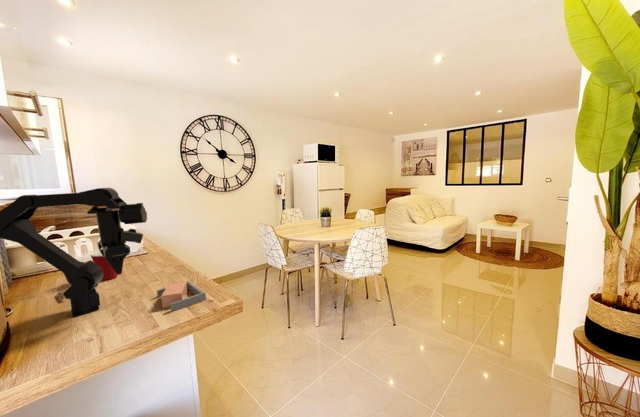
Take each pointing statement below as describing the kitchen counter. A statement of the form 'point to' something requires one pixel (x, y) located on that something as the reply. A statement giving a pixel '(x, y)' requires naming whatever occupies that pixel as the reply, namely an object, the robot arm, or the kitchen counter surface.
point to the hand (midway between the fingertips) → (116, 271)
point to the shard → (62, 296)
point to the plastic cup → (103, 266)
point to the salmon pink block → (174, 293)
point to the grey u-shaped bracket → (188, 301)
